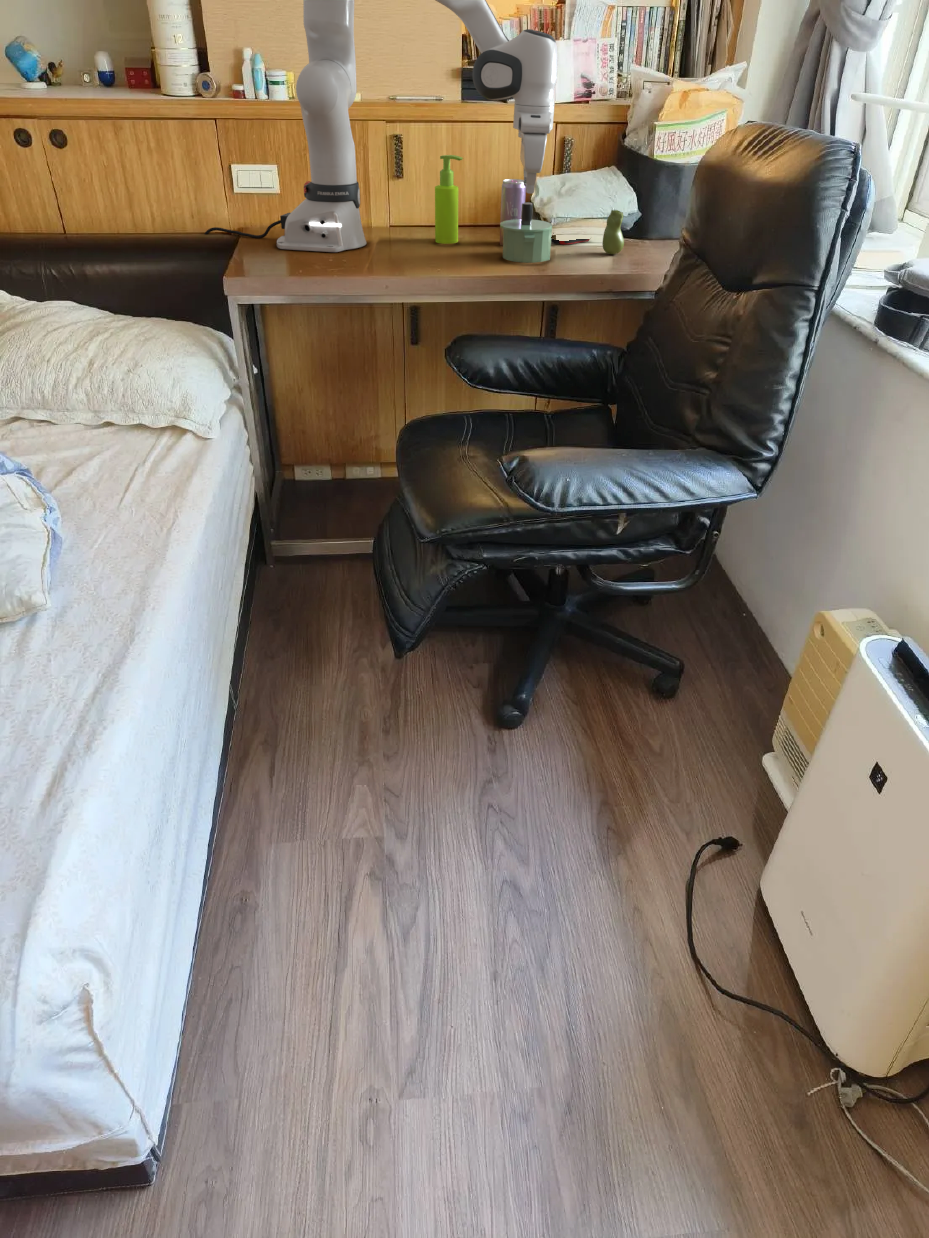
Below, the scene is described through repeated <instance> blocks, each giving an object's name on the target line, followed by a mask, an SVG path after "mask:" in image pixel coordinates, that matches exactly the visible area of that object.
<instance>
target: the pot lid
mask: <svg viewBox="0 0 929 1238" xmlns="http://www.w3.org/2000/svg"><path fill="white" fill-rule="evenodd" d="M533 209H534V202H533V203H532V202H529V201H528V202H526V201H525V203H522V211H521V219H515V220H507V221H503V222H501V223H500V222H499V228H500V227H501V228H503V229H506V230H511V231H519V232H541V231H547V230H550V229H552V230H553V224H552V223H551V222H548V221H545V220H539V219H533V212H534V210H533Z"/></svg>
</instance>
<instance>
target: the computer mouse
mask: <svg viewBox="0 0 929 1238" xmlns="http://www.w3.org/2000/svg"><path fill="white" fill-rule="evenodd" d="M590 240H591V238H590V239H576V240H569V241H559V240H554V239H552V238H551V244H555V245H559V246H570V245H577V244H579V243H581V244H582V243H588V242H589V241H590Z"/></svg>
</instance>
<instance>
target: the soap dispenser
mask: <svg viewBox="0 0 929 1238" xmlns="http://www.w3.org/2000/svg"><path fill="white" fill-rule="evenodd" d="M439 159H440V160H442V161H443V162H442V163H443V164H442V169H441V170H439V184H438V185H435V186H434V242H435V243H437V244H442V245H443V244H444V245H450V244H451V245H452V244H456V243H458V242H459V186H458V185H454V180H455V179H454V173H455V171H454V170H452V169H451V160H455V161H458V162H459V161H463V159H464V158H463V157H462V156H459V155H454V154H445V155H444V154H443V155H440V157H439Z"/></svg>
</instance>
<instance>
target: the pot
mask: <svg viewBox="0 0 929 1238" xmlns="http://www.w3.org/2000/svg"><path fill="white" fill-rule="evenodd" d="M552 235H553V228H552V229H550V230H547V231H541V232H519V231H511V230H506V229H503V245H502V254H501V255H502V258H503V259H504V260H507V261H509V262H515V263H525V264H527V263H528V264H529V263H530V264H531V263H542V262H547V261H550V260H551V250H552V249H551V248H552V242H551V237H552Z"/></svg>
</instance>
